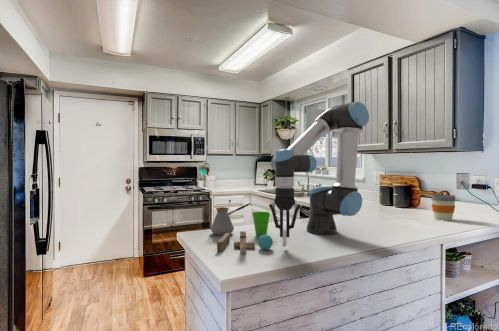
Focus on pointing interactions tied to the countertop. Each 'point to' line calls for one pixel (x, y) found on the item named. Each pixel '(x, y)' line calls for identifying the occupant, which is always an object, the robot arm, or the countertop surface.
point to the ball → (265, 242)
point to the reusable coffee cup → (443, 206)
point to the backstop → (223, 242)
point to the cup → (261, 222)
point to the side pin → (242, 242)
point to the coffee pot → (223, 221)
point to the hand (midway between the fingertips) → (284, 245)
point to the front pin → (248, 245)
